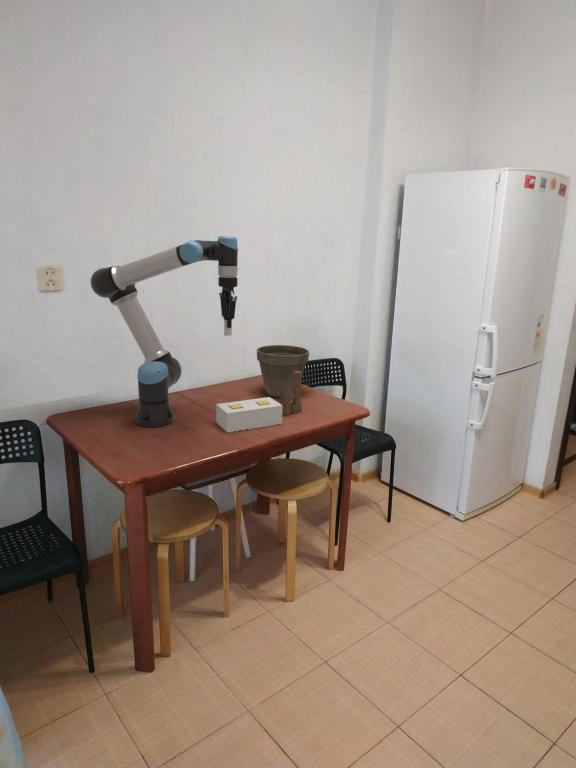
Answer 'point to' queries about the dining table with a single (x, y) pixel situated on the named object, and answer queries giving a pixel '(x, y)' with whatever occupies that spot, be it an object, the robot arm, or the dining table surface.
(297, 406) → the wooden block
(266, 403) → the peg far
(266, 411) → the socket block
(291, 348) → the plant pot
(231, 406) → the peg near
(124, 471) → the dining table surface
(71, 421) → the dining table surface
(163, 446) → the dining table surface
